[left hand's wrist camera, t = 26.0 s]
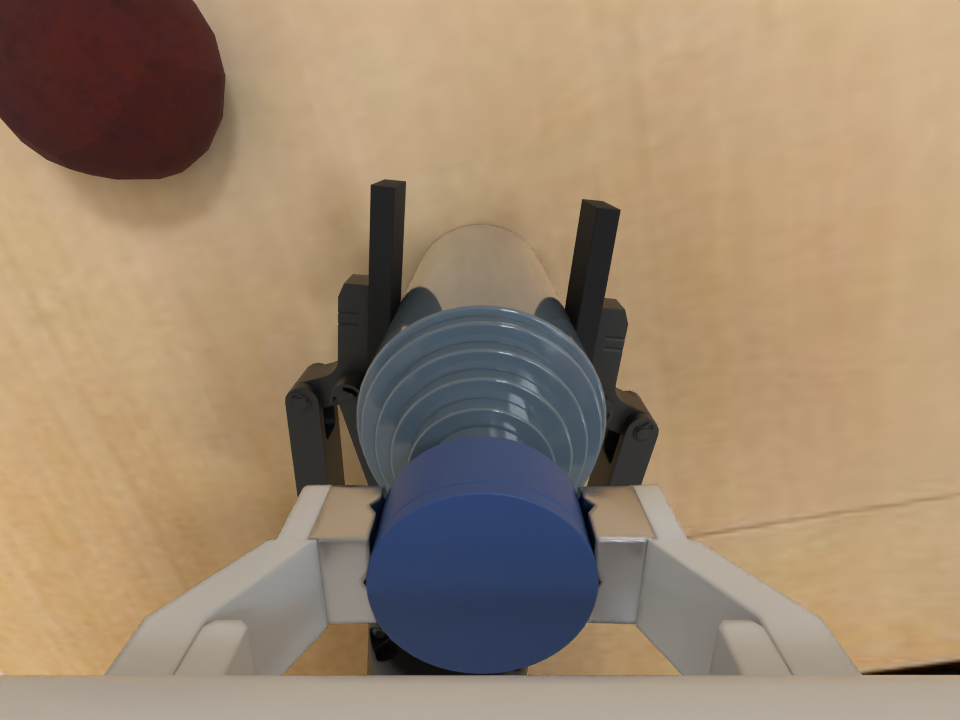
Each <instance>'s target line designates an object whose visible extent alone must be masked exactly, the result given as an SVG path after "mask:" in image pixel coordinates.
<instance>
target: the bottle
mask: <svg viewBox="0 0 960 720" xmlns="http://www.w3.org/2000/svg"><path fill="white" fill-rule="evenodd" d="M356 419H357V431H358V436H359V442H360V445H361V448H362V451H363V454H364V456H365V458H366V461H367V464H368V466H369V468H370V470H371V472H372V474H373V476H374V478H375V480H376V481H377V483H378V484H379V486H385V487H386V490H387V494H388V491H389V489H390V487H391V485H392V483H393V481H394V480H395V478H396V477H397V476H398V474H399V473H400V472H401V470H402V469H403V468H404V467H405V466H406V465H407V464H408V463H410V462H411V461H412V460H413V459H415V458H416V457H417V456H419V455H420V454H421V453H423V452H425V451H427V450H428V449H430V448H432V447H434V446H437V445H439V444H442V443H444V442H447V441H451V440H455V439H458V438H465V437H474V436H489V437H500V438H505V439H510V440H514V441H517V442H520V443H523V444H526V445H528V446H530V447H532V448H534V449H536V450H538V451H539V452H541V453H542V454H544V455H546V456H547V457H549V458H550V459H551V460H552V461H553V462H555V463H556V464H557V465H558V466H559V467H560V468H561V469H562V471H563V472H564V473H565V474H566V475H567V477H568V478H569V480H570V481H571V483H572V484H573V487H574V489H575V491H576V493H577V489H578V487H583V485H584V484H585V482H586V481H587V479H588V478H589V476H590V474H591V472H592V470H593V468H594V466H595V463H596V461H597V457H598V455H599V453H600V450H601V447H602V443H603V440H604V436H605V429H606V403H605V397H604V392H603V389H602V386H601V382H600V379H599V377H598V375H597V373H596V371H595V369H594V367H593V365H592V363H591V361H590V359H589V357H588V355H587V353H586V351H585V349H584V347H583V345H582V343H581V341H580V339H579V337H578V335H577V333H576V331H575V329H574V327H573V325H572V323H571V321H570V319H569V317H568V315H567V313H566V311H565V309H564V307H563V305H562V303H561V301H560V299H559V297H558V295H557V293H556V291H555V289H554V287H553V285H552V283H551V281H550V279H549V277H548V275H547V273H546V271H545V269H544V267H543V265H542V263H541V261H540V259H539V258H538V256H537V255H536V253H535V251H534V250H533V249H532V248H531V247H530V245H529V244H528V243H527V242H525V241H524V240H523V239H522V238H521V237H519V236H518V235H516V234H515V233H513V232H511V231H509V230H507V229H504V228H501V227H498V226H492V225H483V224H478V225H469V226H464V227H460V228H458V229H455V230H453V231H451V232H449V233H447V234H445V235H444V236H442V237H441V238H439V239H438V240H437V241H436V242H435V243H434V244H433V245H432V246H431V247H430V248H429V249H428V251H427V252H426V253H425V255H424V257H423V258H422V260H421V262H420V264H419V266H418V268H417V270H416V272H415V274H414V276H413V278H412V280H411V282H410V284H409V286H408V289H407V291H406V293H405V295H404V297H403V299H402V301H401V303H400V305H399V307H398V309H397V311H396V313H395V315H394V317H393V319H392V321H391V323H390V325H389V327H388V329H387V331H386V333H385V335H384V337H383V340H382V342H381V344H380V346H379V348H378V350H377V352H376V354H375V356H374V358H373V360H372V362H371V364H370V366H369V368H368V370H367V373H366V375H365V377H364V380H363V382H362V385H361V388H360V392H359V396H358V402H357V411H356Z"/></svg>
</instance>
